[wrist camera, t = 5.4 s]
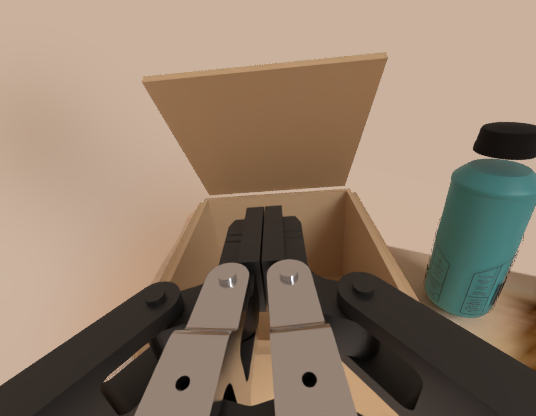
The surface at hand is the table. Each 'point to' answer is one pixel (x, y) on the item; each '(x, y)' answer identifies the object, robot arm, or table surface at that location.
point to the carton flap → (270, 121)
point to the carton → (318, 257)
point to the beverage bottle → (483, 221)
